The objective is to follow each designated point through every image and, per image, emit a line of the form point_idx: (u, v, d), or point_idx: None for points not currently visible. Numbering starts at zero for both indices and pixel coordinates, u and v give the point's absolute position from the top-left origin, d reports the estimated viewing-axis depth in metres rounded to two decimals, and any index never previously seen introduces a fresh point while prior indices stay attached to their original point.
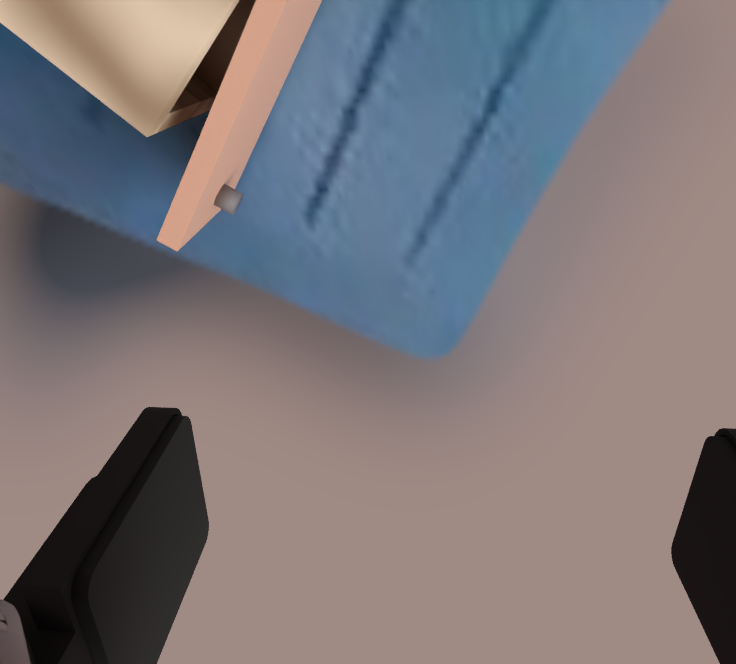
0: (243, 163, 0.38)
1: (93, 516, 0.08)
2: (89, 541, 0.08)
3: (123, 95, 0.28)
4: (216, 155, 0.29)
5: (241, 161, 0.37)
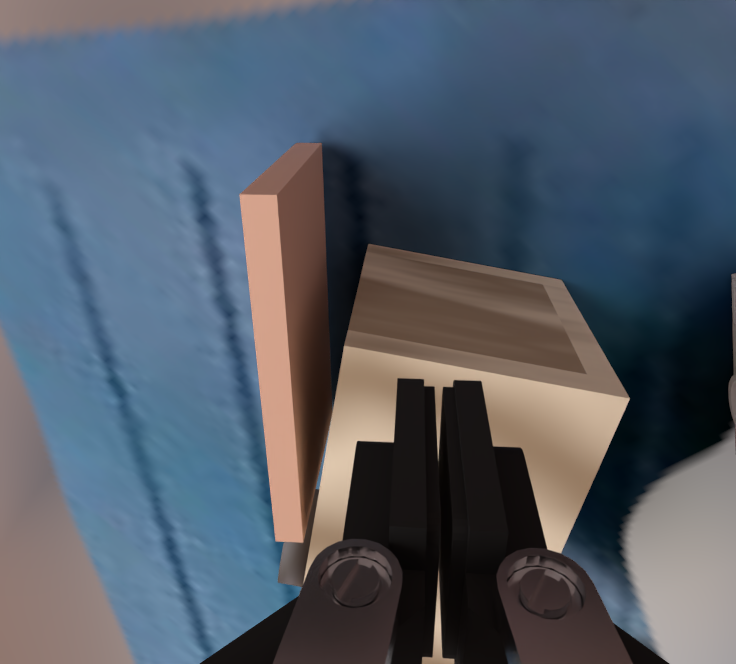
0: None
1: (415, 469, 0.09)
2: (426, 489, 0.09)
3: (390, 378, 0.21)
4: (259, 353, 0.21)
5: None
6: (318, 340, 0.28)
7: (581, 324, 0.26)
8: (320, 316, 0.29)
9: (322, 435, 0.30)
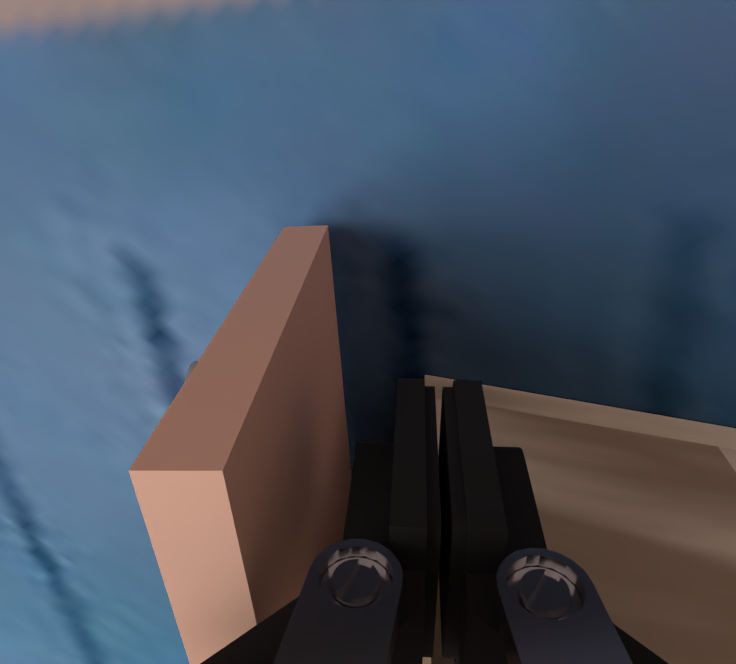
0: None
1: (415, 469, 0.09)
2: (426, 489, 0.09)
3: None
4: None
5: None
6: None
7: None
8: (340, 509, 0.17)
9: None
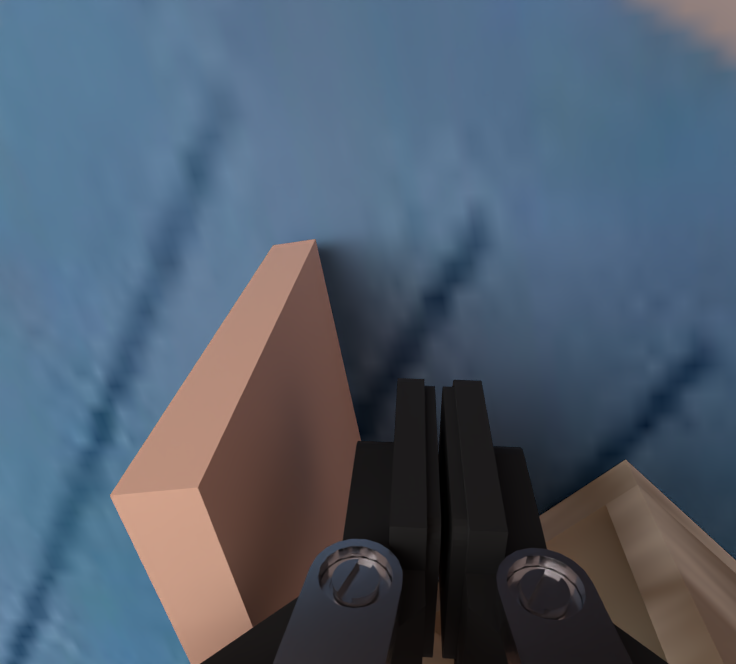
0: None
1: (415, 469, 0.09)
2: (426, 490, 0.09)
3: None
4: None
5: None
6: None
7: None
8: None
9: None
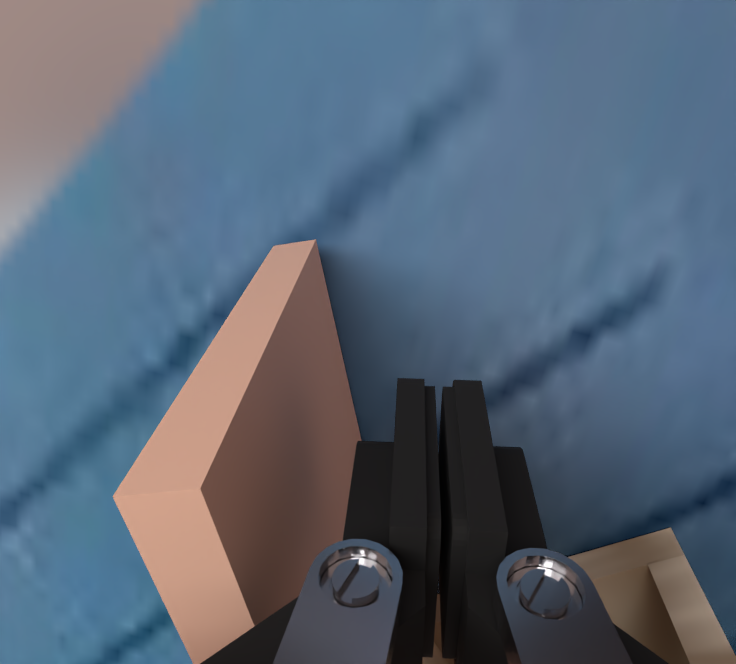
0: None
1: (415, 469, 0.09)
2: (426, 490, 0.09)
3: None
4: None
5: None
6: None
7: None
8: None
9: None
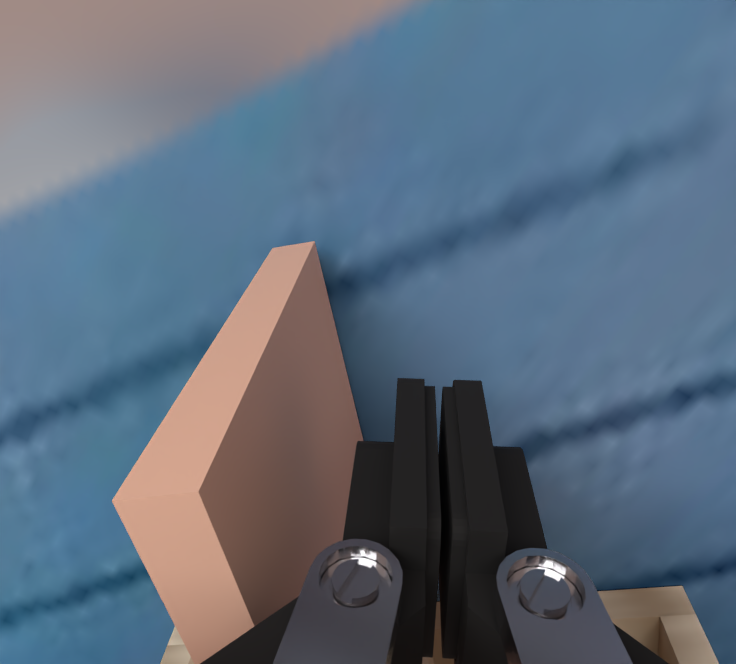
0: None
1: (415, 469, 0.09)
2: (426, 490, 0.09)
3: None
4: None
5: None
6: None
7: None
8: None
9: None
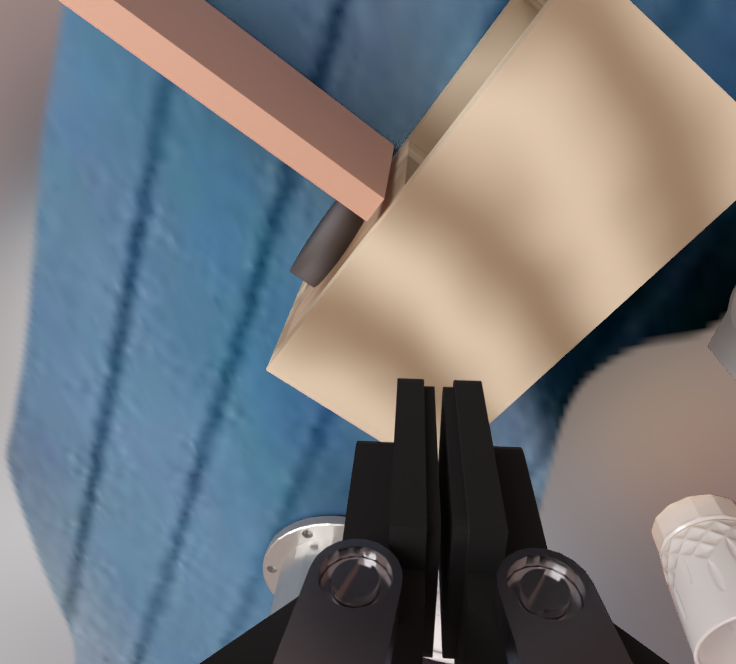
0: None
1: (415, 469, 0.09)
2: (426, 490, 0.09)
3: (604, 23, 0.20)
4: (168, 75, 0.22)
5: None
6: (279, 76, 0.28)
7: None
8: (268, 62, 0.28)
9: (372, 147, 0.29)
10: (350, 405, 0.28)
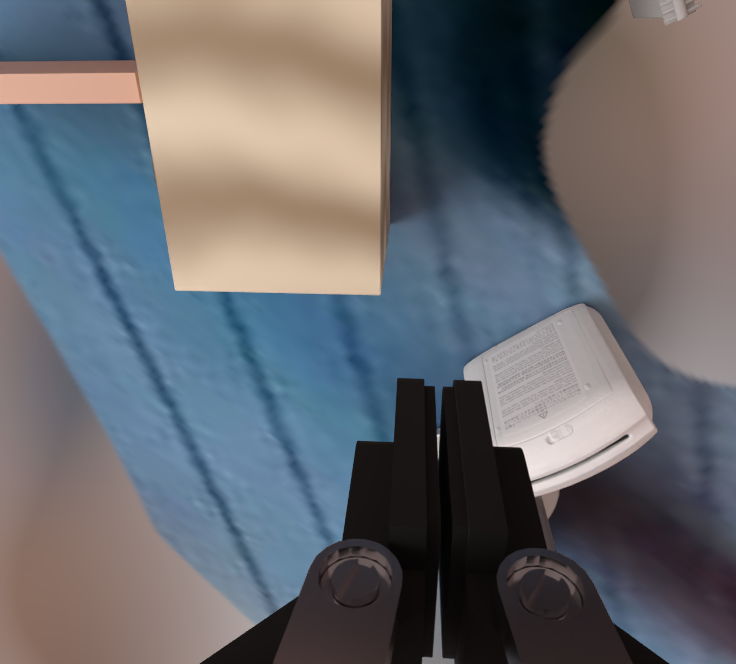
0: None
1: (415, 469, 0.09)
2: (426, 490, 0.09)
3: None
4: None
5: None
6: (63, 64, 0.31)
7: None
8: (57, 63, 0.32)
9: None
10: (258, 276, 0.28)
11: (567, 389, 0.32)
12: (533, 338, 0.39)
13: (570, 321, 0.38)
